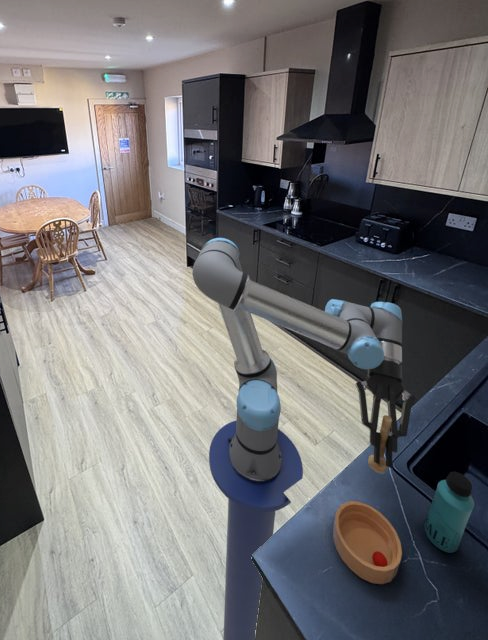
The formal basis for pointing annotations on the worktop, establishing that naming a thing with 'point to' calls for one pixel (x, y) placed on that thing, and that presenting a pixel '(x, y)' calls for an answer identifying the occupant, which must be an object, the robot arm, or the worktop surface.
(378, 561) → the cherry tomato
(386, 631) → the worktop surface
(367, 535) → the bowl
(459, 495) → the beverage bottle
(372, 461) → the wooden peg
